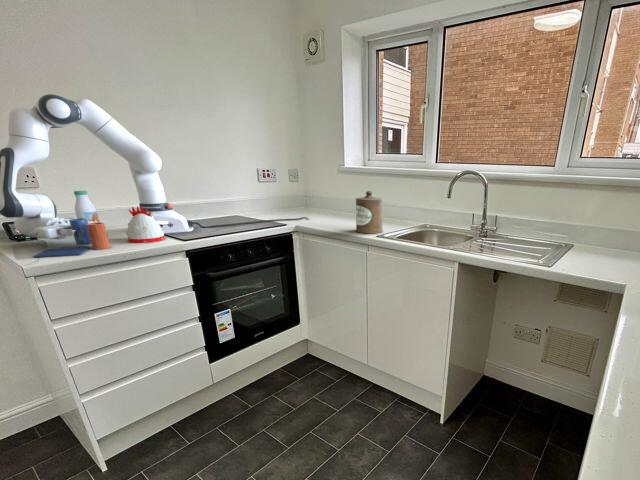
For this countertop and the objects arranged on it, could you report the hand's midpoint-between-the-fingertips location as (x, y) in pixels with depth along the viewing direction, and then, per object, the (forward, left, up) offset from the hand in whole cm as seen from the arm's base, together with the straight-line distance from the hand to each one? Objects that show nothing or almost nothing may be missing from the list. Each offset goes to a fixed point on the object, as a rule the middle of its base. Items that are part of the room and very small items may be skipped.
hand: (83, 230), depth 143 cm
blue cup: (+1, -1, -6) cm, 6 cm away
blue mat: (+5, +10, -7) cm, 13 cm away
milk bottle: (+6, -29, -7) cm, 31 cm away
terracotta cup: (-6, +4, -7) cm, 10 cm away
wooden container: (-126, -3, -7) cm, 126 cm away
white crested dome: (-19, -9, -7) cm, 22 cm away
